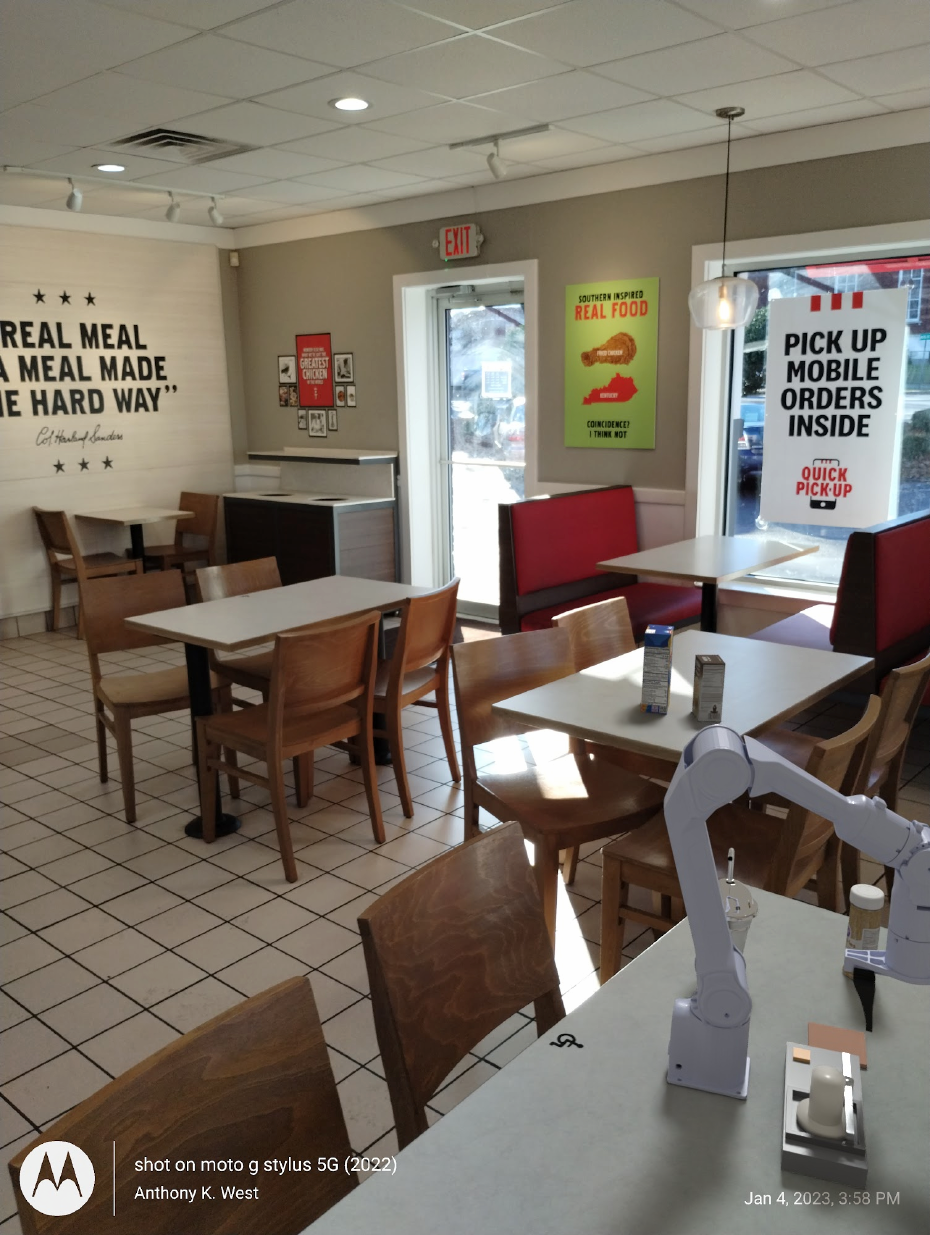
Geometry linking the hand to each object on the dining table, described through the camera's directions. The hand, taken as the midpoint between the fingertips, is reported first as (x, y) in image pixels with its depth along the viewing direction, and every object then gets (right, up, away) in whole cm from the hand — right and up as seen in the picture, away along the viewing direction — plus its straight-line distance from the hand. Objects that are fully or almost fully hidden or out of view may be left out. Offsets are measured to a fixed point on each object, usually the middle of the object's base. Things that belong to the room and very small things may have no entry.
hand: (903, 1034), depth 119 cm
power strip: (-10, -9, -2) cm, 14 cm away
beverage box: (0, +25, +156) cm, 157 cm away
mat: (-4, -6, +11) cm, 13 cm away
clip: (-8, -7, -4) cm, 11 cm away
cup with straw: (-14, -2, +29) cm, 32 cm away
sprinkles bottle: (+6, -3, +28) cm, 29 cm away
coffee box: (+12, +23, +148) cm, 151 cm away
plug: (-12, -7, -6) cm, 15 cm away
